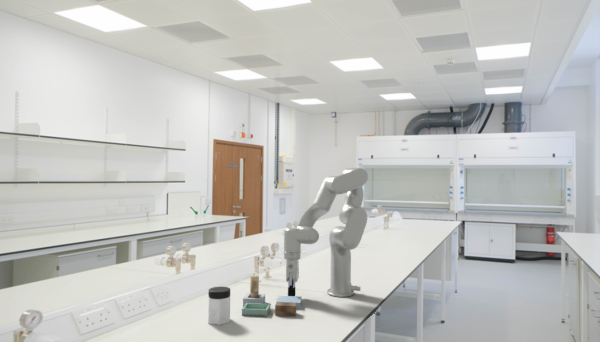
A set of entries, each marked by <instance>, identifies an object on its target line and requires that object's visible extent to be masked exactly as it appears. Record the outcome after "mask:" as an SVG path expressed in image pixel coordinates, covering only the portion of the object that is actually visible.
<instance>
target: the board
mask: <svg viewBox="0 0 600 342" xmlns="http://www.w3.org/2000/svg"><path fill="white" fill-rule="evenodd" d="M302 298H303V297H302V296H298V295H297V296H296V295H295V296H288V295H279V296H278V298H277V300H276V303H277V302H281V303H296V310H300V309H301V306H302V303H303V301H302V300H303V299H302ZM276 303H275V304H276Z"/></svg>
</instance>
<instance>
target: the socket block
mask: <svg viewBox="0 0 600 342" xmlns="http://www.w3.org/2000/svg"><path fill="white" fill-rule="evenodd" d="M246 303H260V304H266V293H259V294H258V298H250V292H249V293H246V294H245V296H244V297H243V298H242V308H243V307H244V306H245V304H246Z"/></svg>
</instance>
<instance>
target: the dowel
mask: <svg viewBox="0 0 600 342" xmlns="http://www.w3.org/2000/svg"><path fill="white" fill-rule="evenodd" d="M259 277H260V276H259V275H250V285H249V287H250V290H249V291H250V292H249V293H250V298H258V294H260V293H259V292H260V291H259V288H260V287H259V286H260V285H259V284H260V283H259V282H260V281H259Z"/></svg>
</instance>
